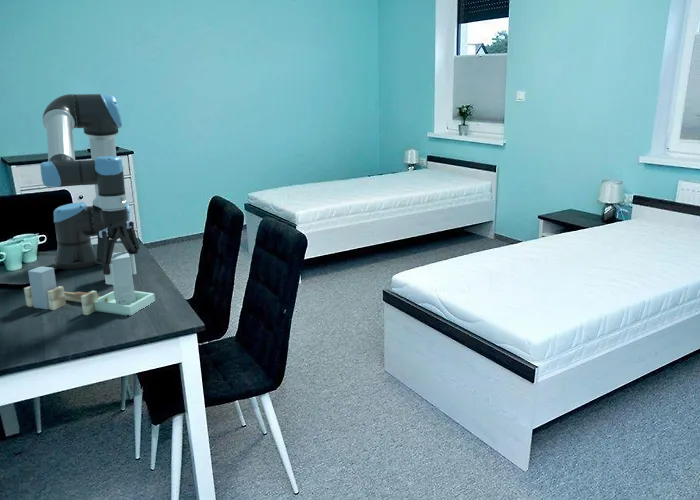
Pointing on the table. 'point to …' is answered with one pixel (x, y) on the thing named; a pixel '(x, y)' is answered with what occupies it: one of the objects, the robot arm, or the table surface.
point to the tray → (124, 309)
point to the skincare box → (123, 278)
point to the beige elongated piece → (67, 298)
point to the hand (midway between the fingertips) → (121, 278)
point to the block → (41, 285)
